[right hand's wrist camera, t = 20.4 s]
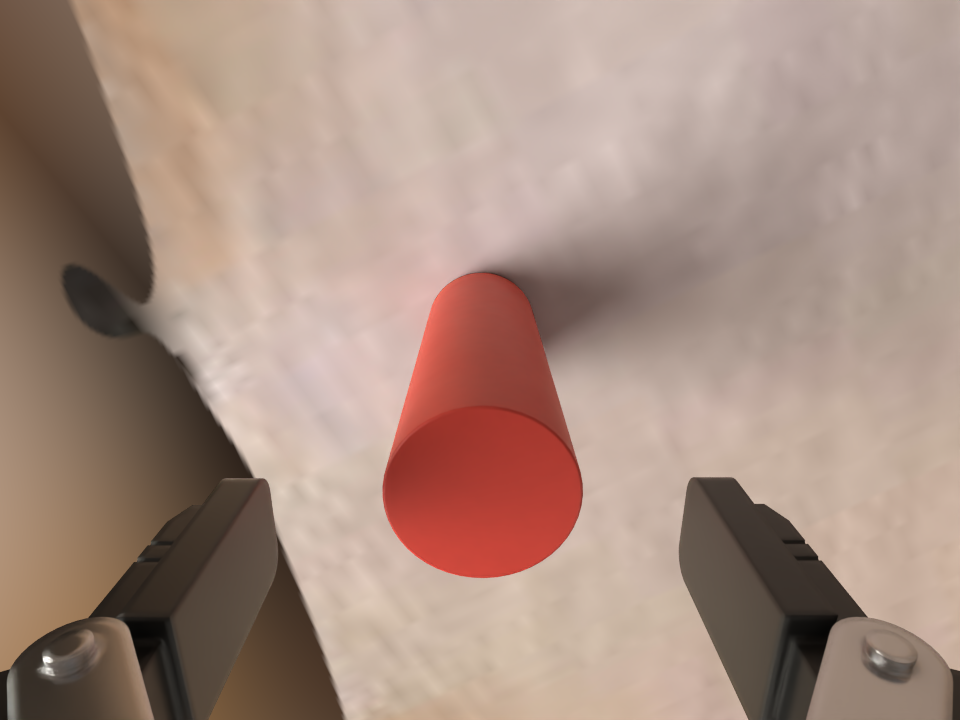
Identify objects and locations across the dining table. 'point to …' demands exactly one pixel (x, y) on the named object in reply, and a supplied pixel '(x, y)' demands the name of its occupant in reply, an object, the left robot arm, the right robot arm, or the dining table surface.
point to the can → (482, 439)
